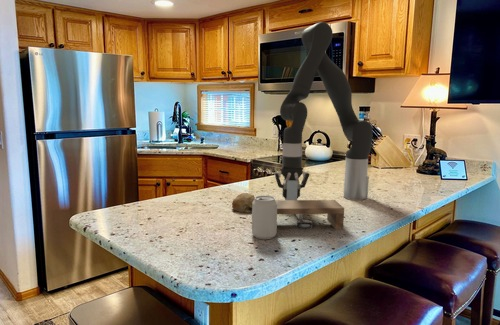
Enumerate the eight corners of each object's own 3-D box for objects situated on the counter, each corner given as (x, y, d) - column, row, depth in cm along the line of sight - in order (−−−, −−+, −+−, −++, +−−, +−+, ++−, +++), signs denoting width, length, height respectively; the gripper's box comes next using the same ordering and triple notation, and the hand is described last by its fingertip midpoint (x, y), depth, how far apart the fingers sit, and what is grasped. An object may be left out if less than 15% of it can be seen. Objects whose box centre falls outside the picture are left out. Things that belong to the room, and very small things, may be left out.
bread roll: (236, 222, 135) (240, 205, 131) (226, 204, 143) (230, 188, 138) (260, 218, 140) (265, 202, 136) (249, 201, 147) (253, 185, 143)
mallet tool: (294, 203, 147) (295, 178, 145) (306, 219, 126) (307, 191, 124) (285, 203, 146) (285, 178, 145) (294, 219, 126) (295, 191, 124)
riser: (333, 219, 128) (334, 200, 127) (343, 229, 118) (344, 208, 117) (265, 220, 126) (265, 200, 125) (268, 230, 116) (269, 208, 115)
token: (309, 224, 123) (310, 219, 122) (313, 229, 118) (313, 224, 117) (295, 224, 122) (295, 219, 122) (298, 230, 117) (298, 224, 117)
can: (250, 231, 114) (251, 194, 113) (274, 231, 115) (275, 194, 113) (252, 240, 107) (253, 200, 105) (278, 240, 108) (279, 200, 106)
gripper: (308, 153, 146) (306, 195, 148) (272, 153, 145) (271, 195, 147) (312, 156, 138) (311, 200, 141) (275, 156, 137) (274, 200, 140)
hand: (291, 197), depth 144 cm, fingers closed on mallet tool, 4 cm apart
